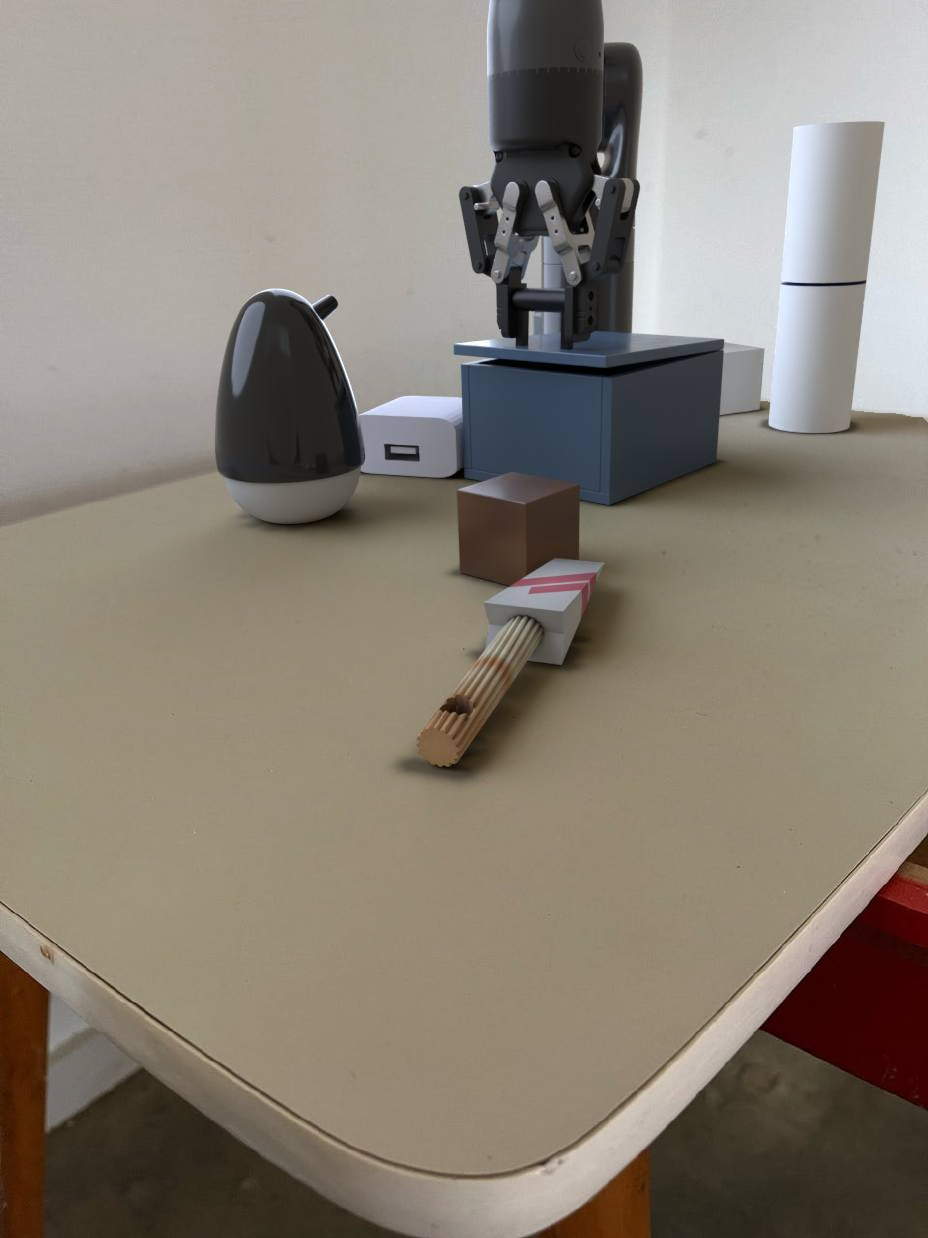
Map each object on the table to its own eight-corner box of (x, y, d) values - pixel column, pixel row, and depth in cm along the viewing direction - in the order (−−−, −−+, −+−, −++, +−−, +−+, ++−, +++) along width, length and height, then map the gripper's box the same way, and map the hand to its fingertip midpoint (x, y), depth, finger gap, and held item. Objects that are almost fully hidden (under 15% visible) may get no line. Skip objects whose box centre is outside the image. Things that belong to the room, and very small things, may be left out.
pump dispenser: (400, 507, 71) (387, 283, 65) (290, 545, 64) (265, 296, 58) (304, 487, 77) (284, 281, 71) (193, 519, 70) (161, 292, 64)
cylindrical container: (756, 428, 92) (780, 126, 82) (785, 414, 97) (811, 129, 87) (834, 436, 88) (869, 119, 78) (860, 421, 93) (895, 123, 83)
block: (459, 572, 58) (456, 489, 56) (512, 550, 61) (511, 471, 59) (526, 591, 55) (526, 503, 53) (579, 566, 58) (580, 483, 56)
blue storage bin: (609, 505, 70) (612, 378, 66) (464, 477, 78) (460, 363, 75) (716, 461, 80) (724, 349, 77) (578, 441, 89) (580, 340, 86)
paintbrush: (615, 537, 53) (481, 724, 36) (614, 585, 54) (483, 787, 37) (546, 531, 54) (385, 708, 38) (546, 577, 55) (391, 769, 39)
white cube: (711, 416, 97) (715, 353, 95) (674, 407, 102) (677, 347, 100) (760, 409, 100) (764, 347, 97) (721, 400, 105) (725, 341, 102)
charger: (515, 438, 91) (456, 478, 78) (422, 434, 94) (351, 472, 81) (514, 386, 89) (454, 418, 76) (420, 383, 92) (346, 414, 79)
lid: (605, 368, 66) (609, 291, 64) (452, 354, 74) (452, 286, 72) (724, 349, 77) (729, 284, 75) (580, 339, 86) (582, 280, 84)
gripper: (672, 61, 63) (659, 339, 69) (497, 84, 72) (500, 328, 78) (605, 50, 57) (598, 352, 64) (425, 77, 66) (435, 339, 73)
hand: (544, 337), depth 71 cm, fingers closed on lid, 5 cm apart
